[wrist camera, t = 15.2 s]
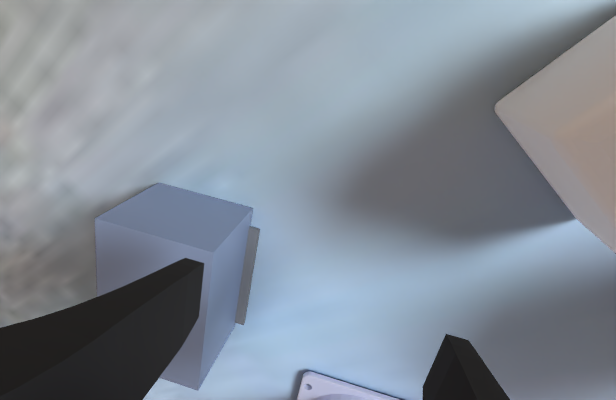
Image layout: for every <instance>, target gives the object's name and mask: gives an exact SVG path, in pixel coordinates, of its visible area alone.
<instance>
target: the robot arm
mask: <svg viewBox="0 0 616 400" xmlns="http://www.w3.org/2000/svg"><path fill="white" fill-rule="evenodd" d="M203 272H204V263H202V262H199V261H195V260H192V259H188V258H184V259H181V260H179V261H177V262H175V263H172V264H170V265H168V266H166V267H164V268H162V269H160V270H158V271H156V272H153V273H151V274H149V275H147V276H145V277H143V278H140V279H138V280H136V281H134V282H132V283H129V284H127V285H125V286H123V287H120V288H118V289H116V290H113V291H111V292H108V293H106V294H103V295H101V296H98V297H96V298H93V299H91V300H89V301H86V302H83V303H81V304H78V305H75V306H72V307H70V308H67V309H64V310H61V311H58V312H55V313H51V314H48V315H45V316H42V317H39V318H35V319H32V320H28V321H25V322H21V323H17V324H13V325H9V326H6V327H2V328H0V400H143V398H144V397H145V396H146V394H147V393H148V392H149V390H150V389H151V388H152V386H153V385H154V384H155V382H156V381H157V380H158V378H159V377H160V376H161V374H162V373H163V372H164V370H165V369H166V368H167V366H168V365H169V364H170V362H171V361H172V359H173V358H174V357H175V355H176V354H177V353H178V351H179V350H180V349H181V347H182V346H183V344H184V342H185V341H186V339H187V337H188V336H189V334H190V332H191V330H192V328H193V327H194V325H195V323H196V321H197V319H198V318H199V311H200V301H201V292H202V282H203ZM307 384H309V385H307ZM297 400H399V399H396V398H393V397H390V396H387V395H384V394H380V393H377V392H374V391H371V390H368V389H365V388H361V387H358V386H355V385H352V384H349V383H346V382H343V381H339V380H336V379H333V378H330V377H327V376H324V375H320V374H317V373H314V372H310V371H309V372H305V373H304V375H303V378H302V381H301V385H300V389H299V393H298V397H297ZM423 400H510V399H509V398H508V396H507V395H506V393H505V392H504V391H503V389H502V388H501V386H500V385H499V384H498V382H497V381H496V379H495V378H494V376H493V375H492V373H491V372H490V371H489V369H488V368H487V366H486V365H485V363H484V362H483V360H482V359H481V357H480V356H479V355H478V353H477V352H476V350H475V349H474V347H473V346H472V345H471V343H470V342H469V341H468V340H465V339H462V338H458V337H455V336H452V335H448V334H446V335H445V338H444V340H443V342H442V344H441V347H440V349H439V351H438V353H437V356H436V358H435V360H434V363H433V365H432V367H431V369H430V372H429V374H428V376H427V378H426V381H425V383H424V385H423Z"/></svg>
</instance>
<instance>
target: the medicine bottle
mask: <svg viewBox="0 0 616 400" xmlns="http://www.w3.org/2000/svg"><path fill="white" fill-rule="evenodd" d="M494 110H495V112H496V114H497V115H498V117H499V118H500V119H501V121H502V122H503V123H504V125H505V126H506V127H507V129H508V130H509V131H510V133H511V134H512V135H513V136H514V138H515V139H516V140H517V142H518V143H519V144H520V146H521V147H522V148H523V150H524V151H525V152H526V154H527V155H528V156H529V157H530V159H531V160H532V161H533V163H534V164H535V165H536V167H537V168H538V169H539V171H540V172H541V173H542V175H543V176H544V177H545V179H546V180H547V181H548V182H549V184H550V185H551V186H552V188H553V189H554V190H555V192H556V193H557V194H558V196H559V197H560V198H561V200H562V201H563V202H564V203H565V205H566V206H567V207H568V209H569V210H570V211H571V213H572V214H573V215H574V217H575V218H576V219H577V220H578V221H579V222H580V223H582V224H583V225H584V226H585V227H586V228H587V229H588V230H589V231H591V232H592V233H593V234H594V235H595V236H596V237H597V238H599V239H600V240H601V241H602V242H603V243H604V244H605V245H606V246H608V247H609V248H610V249H611V250H612V251H613V252H614V253H615V254H616V15H615V16H614V17H612V18H611V19H610V20H608V21H607V22H606V23H604V24H603V25H602V26H600V27H599V28H597V29H596V30H595V31H593V32H592V33H591V34H589V35H588V36H587V37H585V38H584V39H582V40H581V41H580V42H578V43H577V44H576V45H574V46H573V47H572V48H570V49H569V50H567V51H566V52H565V53H563V54H562V55H561V56H559V57H558V58H557V59H555V60H554V61H552V62H551V63H550V64H548V65H547V66H546V67H544V68H543V69H542V70H540V71H539V72H537V73H536V74H535V75H533V76H532V77H531V78H529V79H528V80H527V81H525V82H524V83H522V84H521V85H520V86H518V87H517V88H516V89H514V90H513V91H512V92H510V93H509V94H507V95H506V96H505V97H503V98H502V99H501V100H499V101H498V102H497V103H496V104H495V108H494Z"/></svg>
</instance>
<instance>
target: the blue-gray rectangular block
mask: <svg viewBox="0 0 616 400" xmlns="http://www.w3.org/2000/svg"><path fill="white" fill-rule="evenodd" d="M252 211H253V208H250V207H247V206H243V205H239V204H236V203H232V202H228V201H225V200H221V199H217V198H213V197H210V196H206V195H202V194H199V193H195V192H191V191H188V190H184V189H180V188H177V187H173V186H169V185H166V184H162V183H157V184H155V185H153V186H152V187H150V188H148V189H146V190H145V191H143V192H141V193H139V194H137V195H136V196H134V197H132V198H130V199H128V200H127V201H125V202H123V203H121V204H119V205H118V206H116V207H114V208H112V209H110V210H109V211H107V212H105V213H103V214H102V215H100V216H98V217H96V218H95V244H96V276H97V297H98V296H101V295H103V294H106V293H108V292H111V291H113V290H116V289H118V288H120V287H123V286H125V285H127V284H129V283H132V282H134V281H136V280H138V279H140V278H143V277H145V276H147V275H149V274H151V273H153V272H156V271H158V270H160V269H162V268H164V267H166V266H168V265H170V264H172V263H175V262H177V261H179V260H181V259H184V258H188V259H192V260H195V261H199V262H202V263H204V272H203V282H202V292H201V301H200V311H199V318H198V319H197V321H196V323H195V325H194V327H193V328H192V330H191V332H190V334H189V336H188V337H187V339H186V341H185V342H184V344H183V346H182V347H181V349H180V350H179V351H178V353H177V354H176V355H175V357H174V358H173V359H172V361H171V362H170V364H169V365H168V366H167V368H166V369H165V370H164V372H163V373H162V374H161V376H160V377H159V378H162V379H165V380H168V381H171V382H174V383H177V384H180V385H183V386H186V387H189V388H192V389H195V390H199V388H200V386H201V385H202V383H203V381H204V379H205V378H206V376H207V374H208V372H209V371H210V369H211V367H212V365H213V364H214V362H215V360H216V358H217V357H218V355H219V353H220V351H221V349H222V348H223V346H224V344H225V342H226V341H227V339H228V337H229V335H230V334H231V332H232V330H233V328H234V327H235V317H236V311H237V304H238V297H239V291H240V284H241V278H242V271H243V264H244V258H245V251H246V244H247V238H248V231H249V227H250V224H251V218H252Z"/></svg>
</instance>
